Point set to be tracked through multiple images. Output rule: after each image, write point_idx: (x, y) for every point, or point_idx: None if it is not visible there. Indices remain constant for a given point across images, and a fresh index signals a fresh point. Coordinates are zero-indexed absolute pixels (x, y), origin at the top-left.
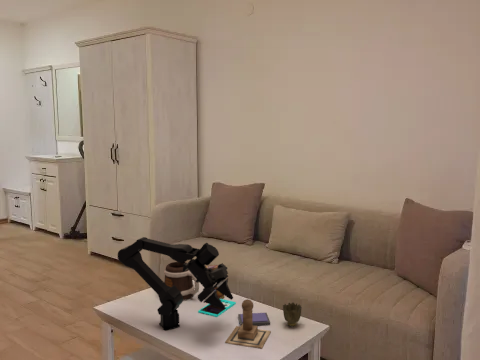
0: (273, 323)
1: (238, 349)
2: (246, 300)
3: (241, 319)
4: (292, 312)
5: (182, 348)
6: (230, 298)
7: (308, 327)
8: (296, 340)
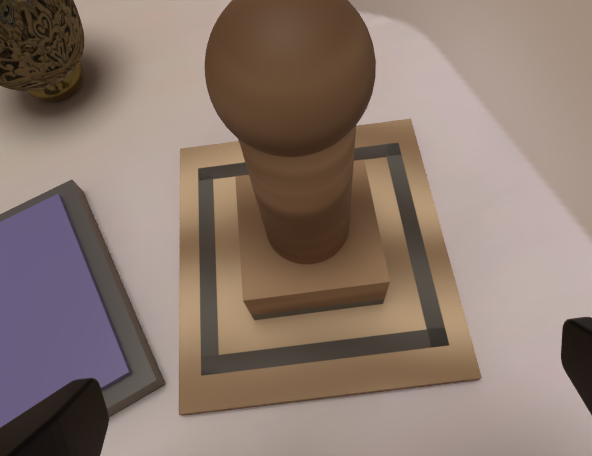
0: (52, 182)
1: (500, 245)
2: (304, 6)
3: None
4: None
5: None
6: (98, 435)
7: None
8: None
